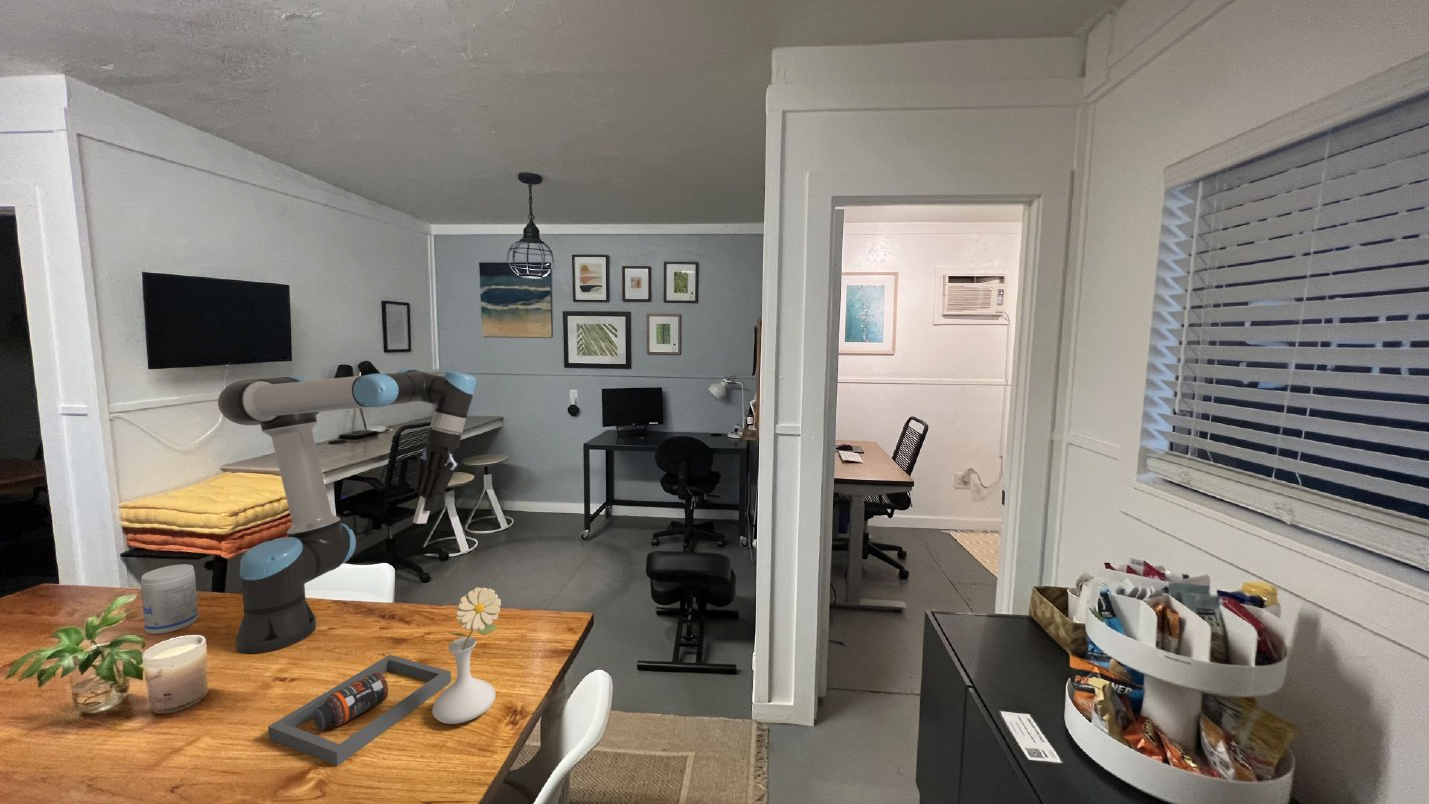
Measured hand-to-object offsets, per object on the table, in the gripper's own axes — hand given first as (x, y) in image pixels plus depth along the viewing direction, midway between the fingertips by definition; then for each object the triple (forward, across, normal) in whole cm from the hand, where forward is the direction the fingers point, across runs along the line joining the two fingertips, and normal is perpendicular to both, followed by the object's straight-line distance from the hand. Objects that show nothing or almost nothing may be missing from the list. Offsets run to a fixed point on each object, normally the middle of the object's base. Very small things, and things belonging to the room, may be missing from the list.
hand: (419, 522), depth 129 cm
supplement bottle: (+28, -19, +14) cm, 37 cm away
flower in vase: (+28, -38, +8) cm, 48 cm away
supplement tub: (+42, +57, +16) cm, 72 cm away
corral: (+32, -20, +16) cm, 41 cm away
